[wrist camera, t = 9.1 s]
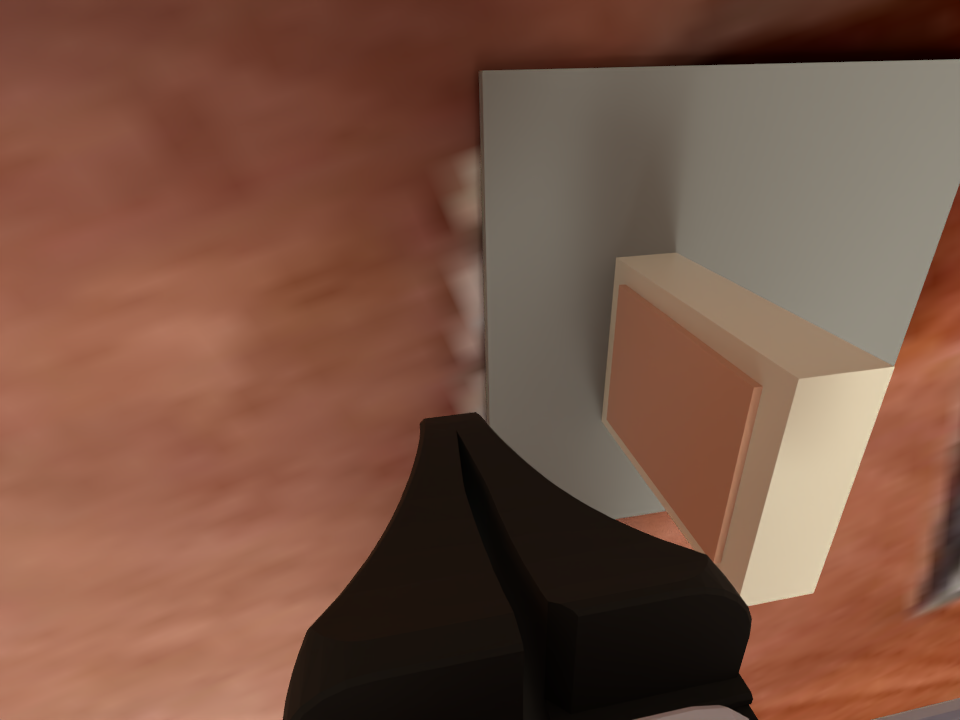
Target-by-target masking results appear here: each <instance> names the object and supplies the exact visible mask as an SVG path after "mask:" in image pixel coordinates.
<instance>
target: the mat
mask: <svg viewBox="0 0 960 720" xmlns="http://www.w3.org/2000/svg"><path fill="white" fill-rule="evenodd" d="M479 105H480V148H481V192H482V235H483V278H484V322H485V365H486V409H487V424H488V425H489V426H490V427H491V428H492V429H493V430H494V431H495V432H496V433H497V435H498V436H499V437H500V438H501V439H502V440H503V441H504V442H505V443H506V444H507V445H508V446H510V447H511V448H512V449H513V450H514V451H515V452H516V453H517V454H518V455H519V456H520V457H521V458H523V459H524V460H525V461H526V462H527V463H528V464H529V465H531V466H532V467H533V468H534V469H535V470H537V471H538V472H539V473H540V474H542V475H543V476H544V477H545V478H547V479H548V480H549V481H551V482H552V483H553V484H555V485H556V486H558V487H559V488H561V489H562V490H564V491H565V492H567V493H568V494H570V495H572V496H573V497H575V498H576V499H578V500H580V501H581V502H583V503H585V504H586V505H588V506H590V507H592V508H594V509H596V510H597V511H599V512H601V513H603V514H605V515H607V516H609V517H611V518H613V519H619V518H625V517H632V516H638V515H644V514H650V513H656V512H662V511H666V510H665V508H664V507H663V506H662V504H661V503H660V502H659V500H658V499H657V497H656V496H655V495H654V493H653V492H652V490H651V489H650V488H649V486H648V485H647V484H646V482H645V481H644V479H643V478H642V477H641V475H640V474H639V472H638V471H637V470H636V468H635V467H634V465H633V464H632V463H631V461H630V460H629V459H628V457H627V456H626V454H625V453H624V452H623V450H622V449H621V447H620V446H619V445H618V443H617V442H616V440H615V439H614V438H613V436H612V435H611V434H610V432H609V431H608V429H607V428H606V427H605V425H604V424H603V422H602V411H603V399H604V388H605V377H606V366H607V355H608V343H609V332H610V321H611V310H612V299H613V288H614V276H615V265H616V258H617V257H629V256H641V255H653V254H665V253H678V254H680V255H682V256H684V257H685V258H687V259H689V260H691V261H693V262H695V263H697V264H699V265H701V266H703V267H705V268H707V269H708V270H710V271H712V272H714V273H716V274H718V275H720V276H722V277H724V278H726V279H728V280H730V281H731V282H733V283H735V284H737V285H739V286H741V287H743V288H745V289H747V290H749V291H751V292H753V293H754V294H756V295H758V296H760V297H762V298H764V299H766V300H768V301H770V302H772V303H774V304H776V305H777V306H779V307H781V308H783V309H785V310H787V311H789V312H791V313H793V314H795V315H797V316H799V317H800V318H802V319H804V320H806V321H808V322H810V323H812V324H814V325H816V326H818V327H820V328H822V329H823V330H825V331H827V332H829V333H831V334H833V335H835V336H837V337H839V338H841V339H843V340H845V341H846V342H848V343H850V344H852V345H854V346H856V347H858V348H860V349H862V350H864V351H866V352H868V353H869V354H871V355H873V356H875V357H877V358H879V359H881V360H883V361H885V362H887V363H889V364H891V365H892V366H894V365H895V362H896V359H897V357H898V354H899V351H900V348H901V345H902V343H903V340H904V337H905V334H906V331H907V329H908V326H909V323H910V320H911V317H912V315H913V312H914V309H915V306H916V303H917V301H918V298H919V295H920V292H921V290H922V287H923V284H924V281H925V278H926V276H927V273H928V270H929V267H930V264H931V262H932V259H933V256H934V253H935V250H936V248H937V245H938V242H939V239H940V236H941V234H942V231H943V228H944V225H945V222H946V220H947V217H948V214H949V211H950V209H951V206H952V203H953V200H954V197H955V195H956V192H957V189H958V186H959V183H960V59H952V60H910V61H867V62H825V63H783V64H740V65H698V66H655V67H613V68H571V69H528V70H486V71H479Z"/></svg>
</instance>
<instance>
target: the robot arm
mask: <svg viewBox="0 0 960 720" xmlns="http://www.w3.org/2000/svg"><path fill="white" fill-rule="evenodd" d="M751 621H752V618H751V615H750V611H749V608H748V606H747V604H746V603H745V602H744V600H743V599H742V597H741V596H740V595H739V593H738V592H737V591H736V589H735V588H734V586H733V585H732V584H731V583H730V581H729V580H728V579H727V577H726V576H725V575H724V574H723V573H722V571H721V570H720V569H719V568H718V567H717V566H716V565H715V564H714V562H713V561H712V560H711V559H710V558H709V557H708V555H706V554H703V553H700V552H697V551H694V550H691V549H688V548H685V547H682V546H679V545H676V544H673V543H670V542H667V541H664V540H661V539H659V538H656V537H654V536H651V535H649V534H646V533H644V532H642V531H639V530H637V529H634V528H632V527H630V526H628V525H625V524H623V523H621V522H619V521H617V520H615V519H613V518H611V517H609V516H607V515H605V514H603V513H601V512H599V511H597V510H596V509H594V508H592V507H590V506H588V505H586V504H585V503H583V502H581V501H580V500H578V499H576V498H575V497H573V496H572V495H570V494H568V493H567V492H565V491H564V490H562V489H561V488H559V487H558V486H556V485H555V484H553V483H552V482H551V481H549V480H548V479H547V478H545V477H544V476H543V475H542V474H540V473H539V472H538V471H537V470H535V469H534V468H533V467H532V466H531V465H529V464H528V463H527V462H526V461H525V460H524V459H523V458H521V457H520V456H519V455H518V454H517V453H516V452H515V451H514V450H513V449H512V448H511V447H510V446H508V445H507V444H506V443H505V442H504V441H503V440H502V439H501V438H500V437H499V436H498V435H497V433H496V432H495V431H494V430H493V429H492V428H491V427H490V426H489V425H488V424H487V423H486V422H485V421H484V419H483V418H482V417H481V416H480V415H479V414H477V413H476V412H474V413H466V414H458V415H450V416H442V417H434V418H427V419H424V420H423V421H422V422H421V423H420V440H419V445H418V450H417V454H416V458H415V461H414V465H413V468H412V471H411V474H410V477H409V480H408V482H407V485H406V487H405V490H404V492H403V495H402V498H401V500H400V502H399V504H398V506H397V509H396V511H395V513H394V515H393V517H392V518H391V520H390V522H389V524H388V526H387V528H386V530H385V531H384V533H383V535H382V536H381V538H380V540H379V541H378V543H377V545H376V546H375V548H374V549H373V551H372V553H371V554H370V556H369V557H368V558H367V560H366V561H365V563H364V564H363V565H362V567H361V568H360V569H359V571H358V572H357V573H356V575H355V576H354V577H353V579H352V580H351V581H350V583H349V584H348V585H347V586H346V588H345V589H344V590H343V592H342V593H341V594H340V595H339V596H338V597H337V599H336V600H335V601H334V602H333V603H332V604H331V605H330V606H329V607H328V608H327V609H326V611H325V612H324V613H323V614H322V615H321V616H320V617H319V618H318V619H317V620H316V621H315V623H314V624H313V625H312V626H311V627H310V628H309V629H308V630H307V632H306V635H305V637H304V640H303V643H302V646H301V648H300V651H299V654H298V657H297V660H296V663H295V666H294V669H293V673H292V676H291V680H290V684H289V688H288V692H287V696H286V701H285V708H284V715H283V720H758V719H757V717H756V716H755V714H754V712H753V711H752V709H751V708H750V706H749V704H751V703H752V700H753V697H752V694H751V691H750V690H749V688H748V687H747V685H746V684H745V682H744V680H743V679H742V677H741V676H740V674H739V670H740V666H741V663H742V659H743V656H744V653H745V649H746V646H747V642H748V639H749V635H750V629H751ZM872 720H960V698H958V699H954V700H949V701H945V702H941V703H937V704H933V705H929V706H925V707H921V708H917V709H913V710H909V711H905V712H901V713H897V714H893V715H889V716H885V717H881V718H877V719H872Z"/></svg>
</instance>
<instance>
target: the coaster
mask: <svg viewBox="0 0 960 720" xmlns="http://www.w3.org/2000/svg"><path fill="white" fill-rule="evenodd" d="M893 370H894V366H892V365H891V364H889V363H887V362H885V361H883V360H881V359H879V358H877V357H875V356H873V355H871V354H869V353H868V352H866V351H864V350H862V349H860V348H858V347H856V346H854V345H852V344H850V343H848V342H846V341H845V340H843V339H841V338H839V337H837V336H835V335H833V334H831V333H829V332H827V331H825V330H823V329H822V328H820V327H818V326H816V325H814V324H812V323H810V322H808V321H806V320H804V319H802V318H800V317H799V316H797V315H795V314H793V313H791V312H789V311H787V310H785V309H783V308H781V307H779V306H777V305H776V304H774V303H772V302H770V301H768V300H766V299H764V298H762V297H760V296H758V295H756V294H754V293H753V292H751V291H749V290H747V289H745V288H743V287H741V286H739V285H737V284H735V283H733V282H731V281H730V280H728V279H726V278H724V277H722V276H720V275H718V274H716V273H714V272H712V271H710V270H708V269H707V268H705V267H703V266H701V265H699V264H697V263H695V262H693V261H691V260H689V259H687V258H685V257H684V256H682V255H680V254H678V253H665V254H653V255H641V256H629V257H617V258H616V265H615V276H614V288H613V299H612V310H611V321H610V332H609V343H608V355H607V366H606V377H605V388H604V399H603V411H602V422H603V424H604V425H605V427H606V428H607V429H608V431H609V432H610V434H611V435H612V436H613V438H614V439H615V440H616V442H617V443H618V445H619V446H620V447H621V449H622V450H623V452H624V453H625V454H626V456H627V457H628V459H629V460H630V461H631V463H632V464H633V465H634V467H635V468H636V470H637V471H638V472H639V474H640V475H641V477H642V478H643V479H644V481H645V482H646V484H647V485H648V486H649V488H650V489H651V490H652V492H653V493H654V495H655V496H656V497H657V499H658V500H659V502H660V503H661V504H662V506H663V507H664V508H665V510H666V511H667V513H668V514H669V515H670V517H671V518H672V520H673V521H674V522H675V524H676V525H677V527H678V528H679V529H680V531H681V532H682V533H683V535H684V536H685V538H686V539H687V540H688V542H689V543H690V545H691V546H692V547H693V549H694V550H695V551H697V552H700V553H703V554H706V555H708V557H709V558H710V559H711V560H712V561H713V562H714V564H715V565H716V566H717V567H718V568H719V569H720V570H721V571H722V573H723V574H724V575H725V576H726V577H727V579H728V580H729V581H730V583H731V584H732V585H733V586H734V588H735V589H736V591H737V592H738V593H739V595H740V596H741V597H742V599H743V600H744V602H745V603H746V604H747V606H751V605H756V604H761V603H766V602H771V601H776V600H781V599H786V598H791V597H796V596H801V595H806V594H811V593H814V590H815V588H816V585H817V582H818V579H819V576H820V574H821V571H822V568H823V565H824V563H825V560H826V557H827V554H828V551H829V549H830V546H831V543H832V540H833V537H834V535H835V532H836V529H837V526H838V524H839V521H840V518H841V515H842V512H843V510H844V507H845V504H846V501H847V498H848V496H849V493H850V490H851V487H852V484H853V482H854V479H855V476H856V473H857V471H858V468H859V465H860V462H861V459H862V457H863V454H864V451H865V448H866V445H867V443H868V440H869V437H870V434H871V431H872V429H873V426H874V423H875V420H876V418H877V415H878V412H879V409H880V406H881V404H882V401H883V398H884V395H885V392H886V390H887V387H888V384H889V381H890V378H891V376H892V373H893Z"/></svg>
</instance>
